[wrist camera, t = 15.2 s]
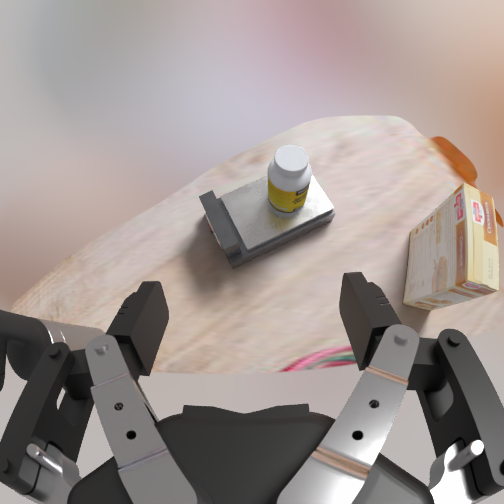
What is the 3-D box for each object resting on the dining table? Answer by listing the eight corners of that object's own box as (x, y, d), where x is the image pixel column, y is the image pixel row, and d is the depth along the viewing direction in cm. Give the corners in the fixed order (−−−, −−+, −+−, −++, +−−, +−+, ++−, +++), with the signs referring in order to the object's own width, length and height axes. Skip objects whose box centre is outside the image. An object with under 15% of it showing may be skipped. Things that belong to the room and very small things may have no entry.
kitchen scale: (229, 270, 48) (222, 257, 41) (203, 214, 52) (193, 193, 44) (331, 220, 50) (341, 200, 42) (299, 171, 53) (303, 146, 46)
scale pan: (248, 251, 46) (247, 249, 45) (221, 199, 49) (220, 196, 48) (332, 210, 47) (334, 207, 46) (301, 165, 50) (302, 161, 49)
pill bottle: (285, 222, 46) (290, 186, 34) (259, 196, 47) (257, 155, 36) (313, 200, 47) (325, 160, 36) (287, 175, 48) (291, 132, 37)
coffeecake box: (431, 311, 44) (499, 292, 25) (401, 304, 44) (466, 281, 26) (437, 239, 48) (494, 196, 29) (409, 229, 49) (462, 180, 30)
